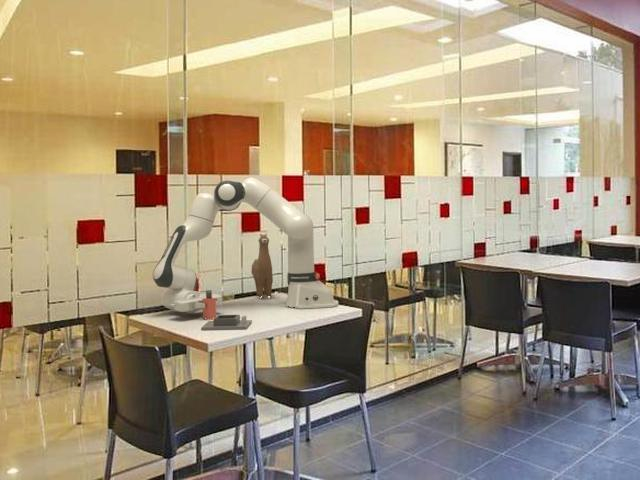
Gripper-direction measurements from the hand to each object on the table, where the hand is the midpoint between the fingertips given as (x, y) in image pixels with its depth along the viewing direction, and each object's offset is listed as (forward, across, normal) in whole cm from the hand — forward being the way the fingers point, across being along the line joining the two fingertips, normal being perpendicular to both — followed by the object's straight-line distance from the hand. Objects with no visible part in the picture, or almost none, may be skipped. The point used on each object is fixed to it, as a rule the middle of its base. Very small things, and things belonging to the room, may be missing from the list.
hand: (210, 304), depth 237 cm
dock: (+17, -6, +6) cm, 19 cm away
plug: (-1, 0, +6) cm, 6 cm away
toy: (-23, +48, +6) cm, 54 cm away
